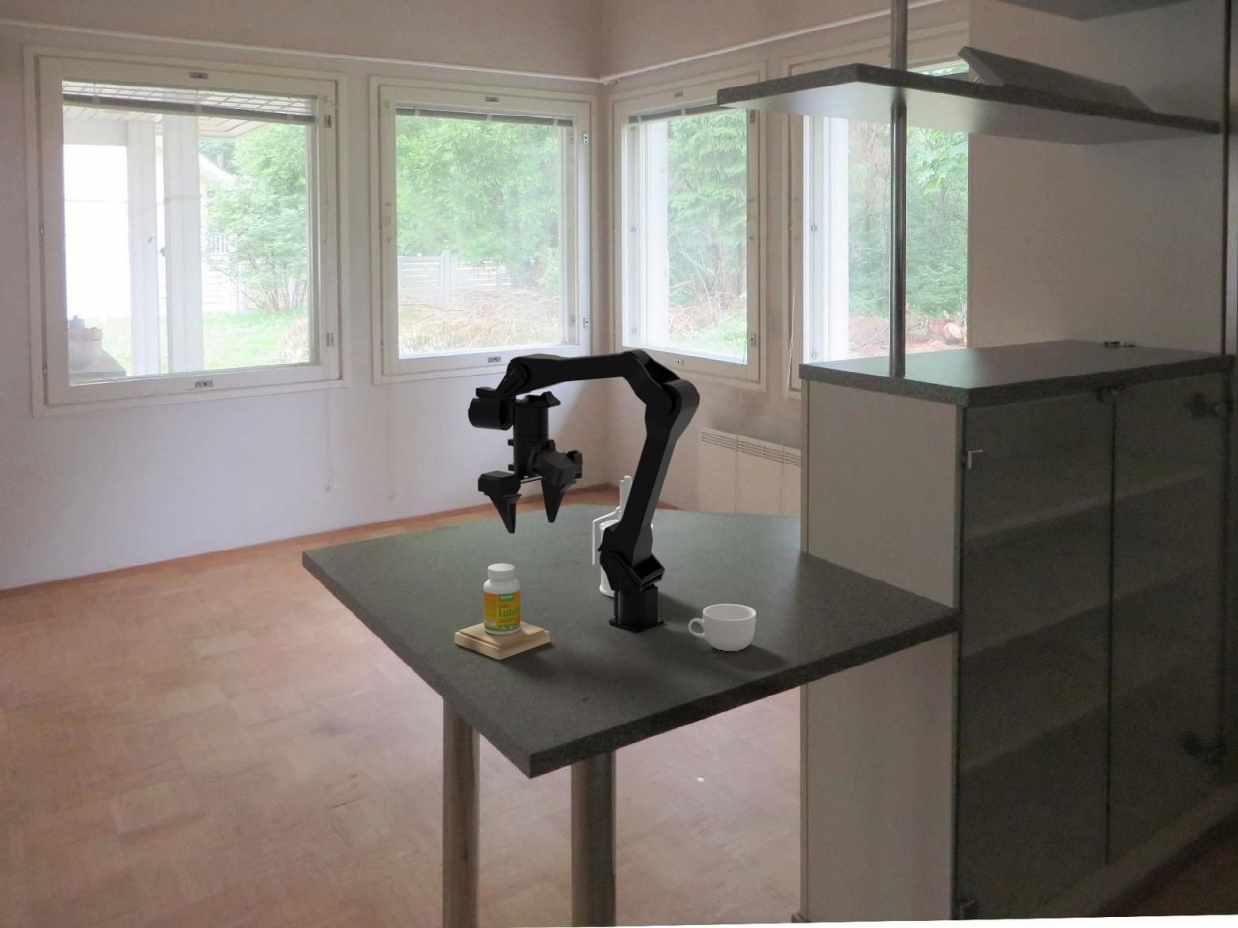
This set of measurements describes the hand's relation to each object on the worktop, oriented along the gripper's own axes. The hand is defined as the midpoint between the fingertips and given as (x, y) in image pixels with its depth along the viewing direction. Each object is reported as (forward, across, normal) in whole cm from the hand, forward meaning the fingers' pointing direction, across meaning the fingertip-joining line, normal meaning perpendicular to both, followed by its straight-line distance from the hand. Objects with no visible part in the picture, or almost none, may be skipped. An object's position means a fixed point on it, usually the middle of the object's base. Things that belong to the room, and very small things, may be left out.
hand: (531, 527), depth 181 cm
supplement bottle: (+11, -16, -9) cm, 21 cm away
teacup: (+13, +4, -35) cm, 38 cm away
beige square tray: (+13, -16, -9) cm, 22 cm away
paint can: (+13, +16, -6) cm, 21 cm away
